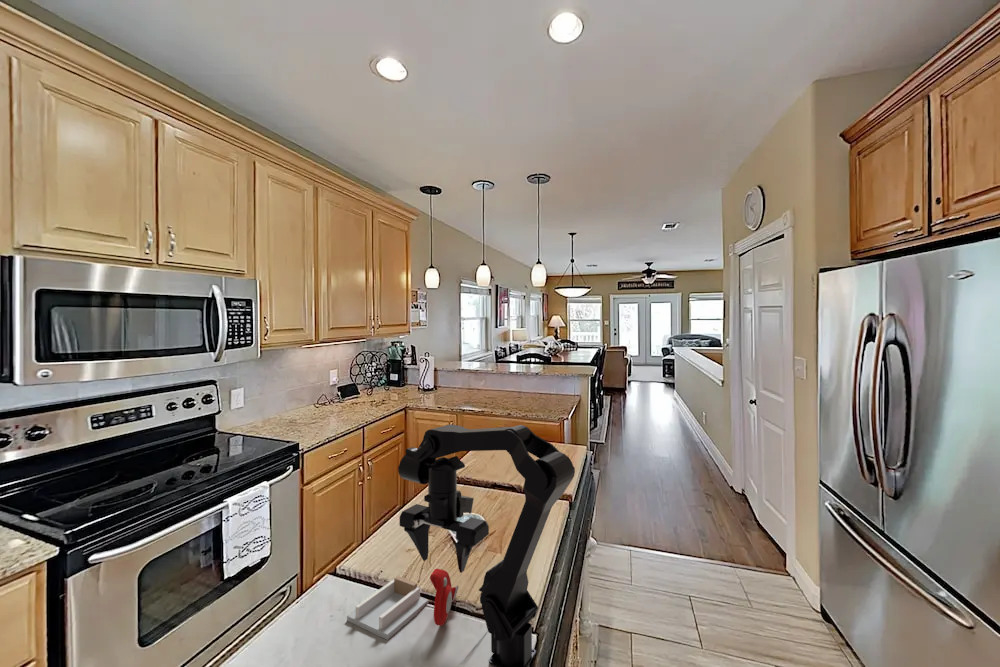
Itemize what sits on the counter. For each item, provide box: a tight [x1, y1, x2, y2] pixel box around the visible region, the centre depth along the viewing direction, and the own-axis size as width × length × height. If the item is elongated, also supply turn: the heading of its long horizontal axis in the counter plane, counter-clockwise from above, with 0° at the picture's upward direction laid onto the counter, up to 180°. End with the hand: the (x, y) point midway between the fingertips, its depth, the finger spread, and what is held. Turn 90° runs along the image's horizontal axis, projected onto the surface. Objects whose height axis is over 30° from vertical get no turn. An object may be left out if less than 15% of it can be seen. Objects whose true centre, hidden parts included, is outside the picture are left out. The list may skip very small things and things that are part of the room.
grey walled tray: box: [346, 575, 429, 641], centre depth 88 cm, size 11×12×4 cm
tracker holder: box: [429, 568, 460, 626], centre depth 87 cm, size 12×4×10 cm, turn 168°
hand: (443, 565), depth 87 cm, fingers open, 9 cm apart
